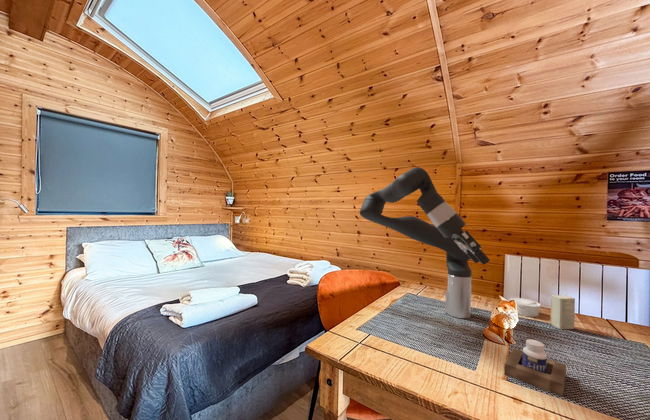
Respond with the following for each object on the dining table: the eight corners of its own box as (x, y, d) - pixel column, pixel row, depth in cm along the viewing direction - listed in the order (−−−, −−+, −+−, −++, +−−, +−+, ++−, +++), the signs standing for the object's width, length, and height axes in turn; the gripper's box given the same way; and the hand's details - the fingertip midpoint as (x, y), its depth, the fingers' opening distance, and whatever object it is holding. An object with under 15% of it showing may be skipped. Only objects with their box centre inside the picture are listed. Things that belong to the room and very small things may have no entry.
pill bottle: (526, 377, 72) (526, 345, 72) (519, 367, 77) (520, 336, 77) (550, 382, 71) (550, 349, 71) (541, 371, 75) (542, 340, 75)
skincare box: (564, 324, 109) (565, 294, 109) (575, 329, 104) (575, 298, 104) (549, 324, 108) (550, 294, 109) (559, 329, 104) (560, 298, 104)
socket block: (504, 374, 74) (504, 363, 74) (513, 358, 82) (513, 348, 82) (562, 396, 65) (563, 384, 65) (565, 375, 74) (566, 364, 74)
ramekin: (542, 320, 113) (542, 307, 113) (510, 314, 119) (510, 302, 119) (538, 312, 122) (538, 300, 122) (509, 307, 128) (509, 296, 128)
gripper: (433, 228, 92) (466, 268, 88) (438, 224, 79) (477, 271, 74) (451, 215, 91) (486, 254, 86) (460, 208, 78) (501, 255, 73)
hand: (482, 262), depth 80 cm, fingers open, 8 cm apart
